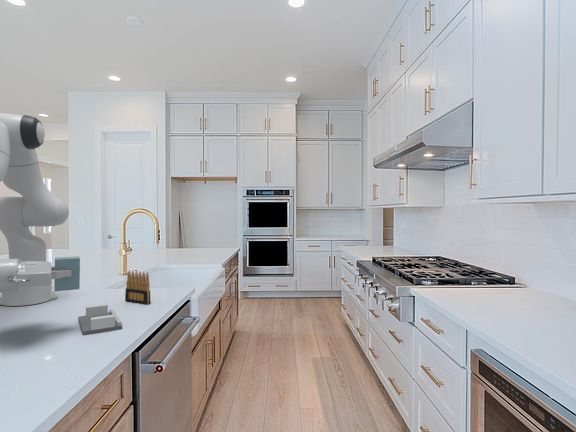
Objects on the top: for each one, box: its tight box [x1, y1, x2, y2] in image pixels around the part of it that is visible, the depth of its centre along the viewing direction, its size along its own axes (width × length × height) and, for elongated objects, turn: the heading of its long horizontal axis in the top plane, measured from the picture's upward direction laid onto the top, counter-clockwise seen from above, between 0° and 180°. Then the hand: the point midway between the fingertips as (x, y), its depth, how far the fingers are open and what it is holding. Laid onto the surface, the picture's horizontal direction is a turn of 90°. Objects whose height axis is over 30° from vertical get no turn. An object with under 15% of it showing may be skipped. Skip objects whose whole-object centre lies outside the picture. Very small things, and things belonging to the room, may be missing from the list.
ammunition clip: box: [124, 270, 151, 306], centre depth 130 cm, size 11×2×12 cm, turn 69°
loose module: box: [53, 256, 81, 292], centre depth 100 cm, size 4×6×9 cm
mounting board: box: [77, 303, 123, 336], centre depth 105 cm, size 16×10×4 cm, turn 35°
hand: (70, 271), depth 100 cm, fingers closed on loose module, 4 cm apart
